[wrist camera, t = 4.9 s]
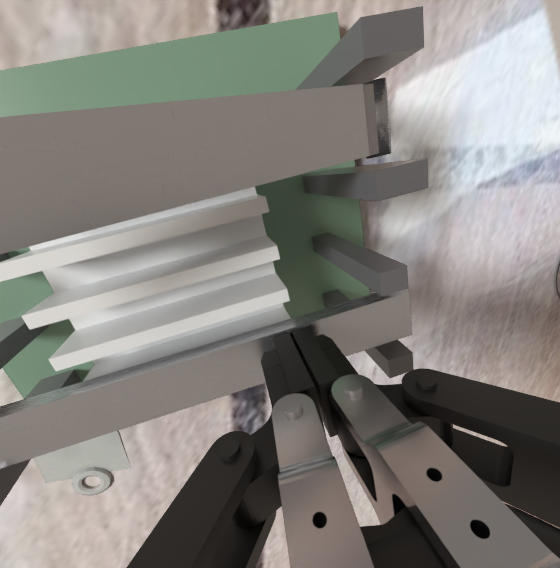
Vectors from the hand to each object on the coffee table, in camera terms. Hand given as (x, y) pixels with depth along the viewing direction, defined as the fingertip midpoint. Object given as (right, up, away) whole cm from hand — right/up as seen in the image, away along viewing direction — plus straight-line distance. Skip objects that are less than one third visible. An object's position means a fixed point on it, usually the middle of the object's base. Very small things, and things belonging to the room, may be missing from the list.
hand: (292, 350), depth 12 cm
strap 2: (-4, -1, 0) cm, 4 cm away
